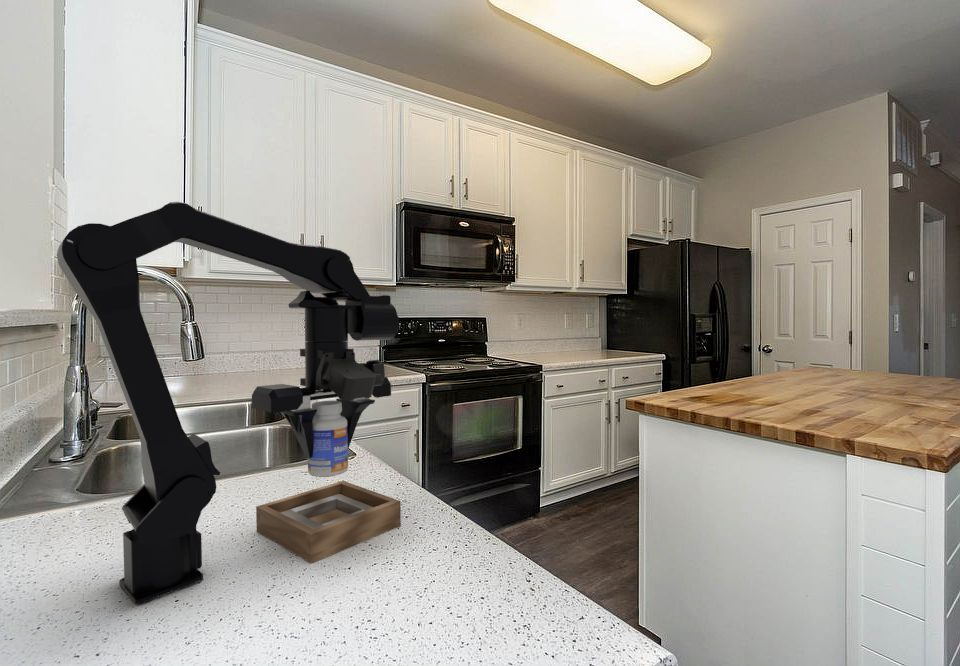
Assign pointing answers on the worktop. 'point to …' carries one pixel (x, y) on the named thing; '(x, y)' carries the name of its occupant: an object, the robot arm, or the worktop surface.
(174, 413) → the robot arm
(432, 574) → the worktop surface
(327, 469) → the pill bottle
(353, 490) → the walnut box
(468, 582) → the worktop surface
